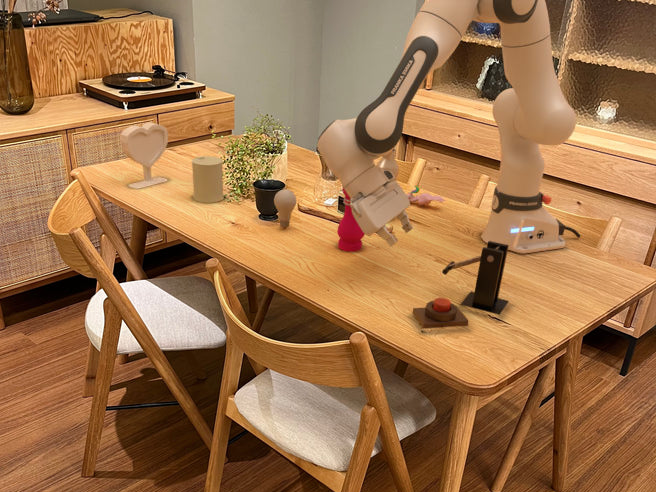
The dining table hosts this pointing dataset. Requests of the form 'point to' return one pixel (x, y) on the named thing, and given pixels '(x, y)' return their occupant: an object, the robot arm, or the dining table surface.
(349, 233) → the pepper mill
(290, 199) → the lightbulb
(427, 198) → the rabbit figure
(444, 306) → the button
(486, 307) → the switch bracket
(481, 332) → the dining table surface
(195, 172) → the can
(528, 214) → the robot arm
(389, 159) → the plastic bottle
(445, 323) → the button box
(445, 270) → the switch lever
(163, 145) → the heart sculpture
